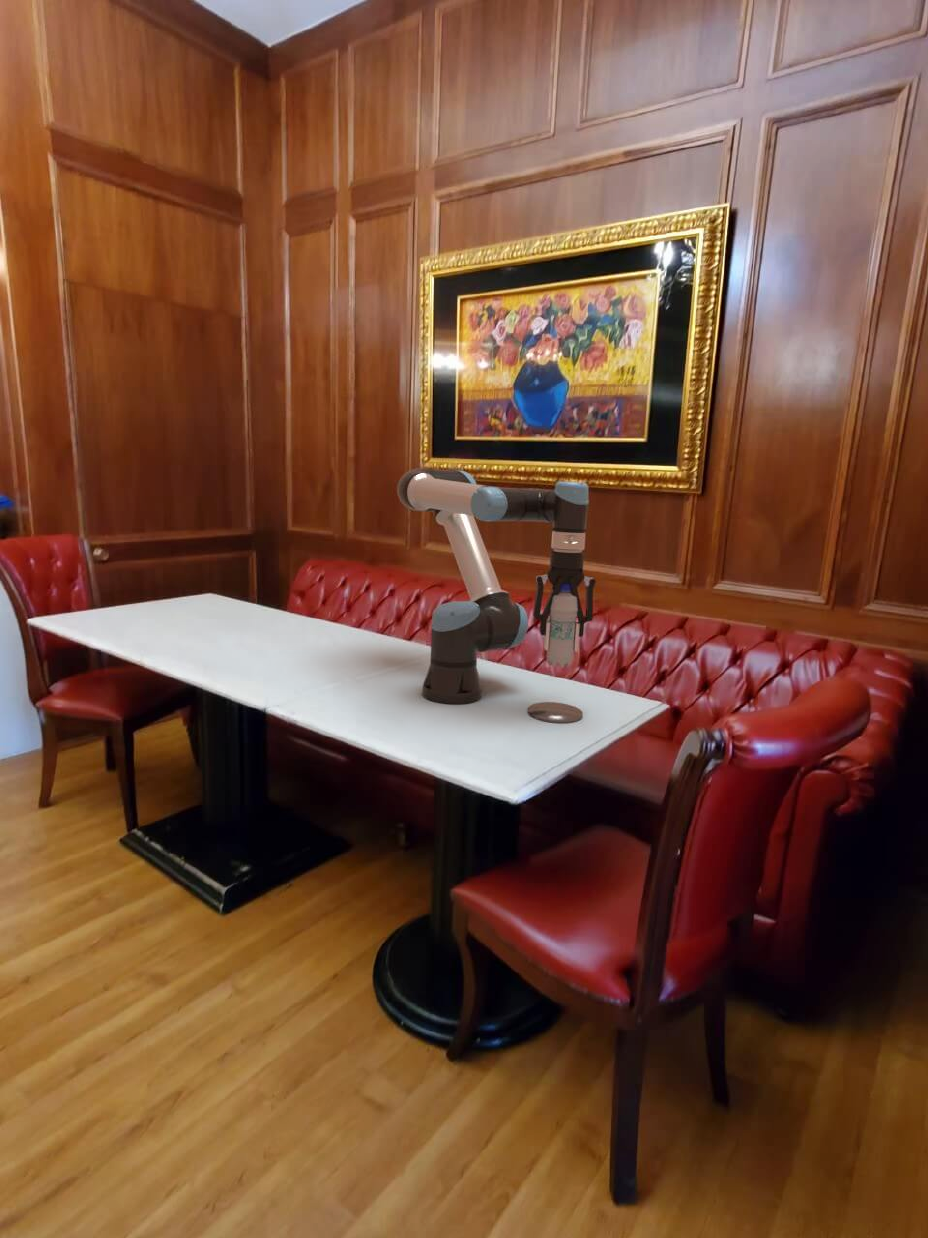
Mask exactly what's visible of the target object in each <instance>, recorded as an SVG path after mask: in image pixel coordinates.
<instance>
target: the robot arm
mask: <svg viewBox="0 0 928 1238" xmlns="http://www.w3.org/2000/svg"><path fill="white" fill-rule="evenodd" d="M396 487H397V488H396V489H397V491H396V492H397V496H398V499H399V501H400V502H401V504H403V506H404V507H406V508H407V509H409V510H412V511H417V512H429V513H430V512H431V513H433V515H434V518H435V521H436V523H437V524H438V525H440V526H443V527H444V531H445V533H446V535H447V538H448V541H449V543H450V547H451V549H452V550H451V551H453V555H454V558H455V560H456V563H457V566H458V569H459V572H460V574H461V577H462V580H463V583H464V585H465V588H466V590H467V594H468V596H469V599H470V600H469V601H468V600H467V601H466V600H462V601H451V602H450V601H449V602H444V603H441V604H440V605H437V606H436V607H435V608H434V610H433V611H432V616H431V617H432V618H431V623H430V628H431V636H430V637H431V639H430V665H429V667H428V669H427V673H426V675H425V678H424V681H423V684H422V687H421V689H422V692H421V693H422V696H423V697H424V698H425V699H427V700H429V701H432V702H436V703H443V704H450V705H452V704H453V705H456V704H457V705H458V704H459V705H461V704H469V703H471V704H472V703H475V702H477V701H480V700H481V698H482V697H483V686H482V682H481V679H480V674H479V671H478V668H477V663H478V662H477V660H478V653H484V652H493V651H498V650H499V651H500V650H503V651H504V650H508V649H512V648H516V647H518V646H519V645H521V644H522V643H523V641H524V640H525V638H526V636H527V631H528V630H529V618H528V615H527V614H528V613H527V612H526V609H525V608H524V607H523V606H522V605H521V604H519V603H517V602H513V601H512V599H511V596H510V593H509V592H508V591H506V590H504V589H501V586H500V583H499V580H498V577H497V575H496V571H495V570H494V567H493V564H492V562H491V558H490V557H489V554H488V551H487V548H486V545H485V543H484V540H483V537H482V535H481V533H480V530H479V527H478V524H477V522H476V519H477V520H478V521H481V522H483V521H484V522H487V523H488V522H489V523H491V522H492V523H494V522H540V523H541V522H542V523H552V530H551V531H552V532H551V545H550V548H551V549H552V550H551V551H550V558H549V559H550V560H549V569H548V571H547V573H546V574H543V575H539V574H537V575H536V576H535V581H536V585H537V586H536V590H535V591H536V592H535V593H536V594H535V598H534V606H533V607H534V608H533V618H534V619H535V620H539V621H540V630H539V633H540V635H541V636H544V637H543V649H544V651H547V650H548V647H549V632H550V620H548V619H549V618H550V615H549V614H550V612H551V605H552V601H553V596H554V595H558V593H559V590H560V588H561V586H562V584H563V583H570V585H571V589H572V591H571V593H572V594H573V596H576V597H577V608H578V611H577V616H576V619H577V621H575V633H574V652H578V651H579V650H578V649H579V637H581V638H583V637H584V632H585V631H584V630H585V629H584V628H585V624H586V623H587V622H593V620H594V619H593V617H594V609H593V608H594V587H595V585H596V579H595V578H594V577H588V576H586V575H585V573H584V559H585V557H584V556H585V553H584V552H582V551H583V550H585V545H586V532H587V530H586V529H587V518H588V509H589V502H590V500H589V485H588V484H587V483H586V482H584V481H583V482H581V481H561V480H560V481H557V482H556V483H555V486H554V487H555V488H554V489H547V488H546V489H544V488H533V487H532V488H518V487H515V488H513V487H500V486H492V485H485V484H477V482H476V480H475V479H474V477H473V476H472V475H471V473H469V472H466V471H464V470H458V469H453V468H452V469H437V468H425V467H420V468H419V467H418V468H414V469H410V470H408V471H407V472H405V473H404V474H403V475H402V476H401V477H400V479H399V481H398V483H397V486H396ZM547 580H549V582H550V584H551V585H552V588H551V590H550V594H549V596H548V597H547V601H546V603H545V605H544V609H543V610H542V613H541V609H542V602H543V595H544V586H545V585H546V583H547ZM582 582H584V583H583V584H584V586H585V615H584V613H583V608H582V605H581V604H582V603H581V600H580V596H579V591H578V588H579V586H580V585H581V584H582Z"/></svg>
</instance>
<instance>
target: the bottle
mask: <svg viewBox="0 0 928 1238" xmlns="http://www.w3.org/2000/svg"><path fill="white" fill-rule="evenodd" d="M571 591H572V589H571V585H570V583H563V584H562V586H561V588H560V590H559V593H558V595H554V596H553V601H552V605H551V612H550V614H549V622H550V632H549V647H548V650H546V654H545V655H546V662H547V664H548V665H549V666H552V667H553V668H556V667H557V665H558V664H559V667H560V669H562V668H564V667H565V668H569V667H571V664H572V663H573V661H574V658H575V657H574V655H575V653H574V652H575V651H574V633H575V622H576V620H577V611H578V608H577V597H576V596H573V594H572V593H571Z"/></svg>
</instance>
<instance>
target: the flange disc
mask: <svg viewBox="0 0 928 1238" xmlns="http://www.w3.org/2000/svg"><path fill="white" fill-rule="evenodd" d="M527 714H528V715H529V716H530V717H532V718H533V719H535V720H538V721H542V722H545V723H552V724H572V723H576V722H579V721H581V720H582V719H583V715H584V713H583V711H582V710H581V708H579V707H576V706H575V705H572V704H571V705H570V704H567V703H561V702H551V701H549V702H548V701H543V702H536V703H532V704H530V705H529V706H528V707H527Z"/></svg>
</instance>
